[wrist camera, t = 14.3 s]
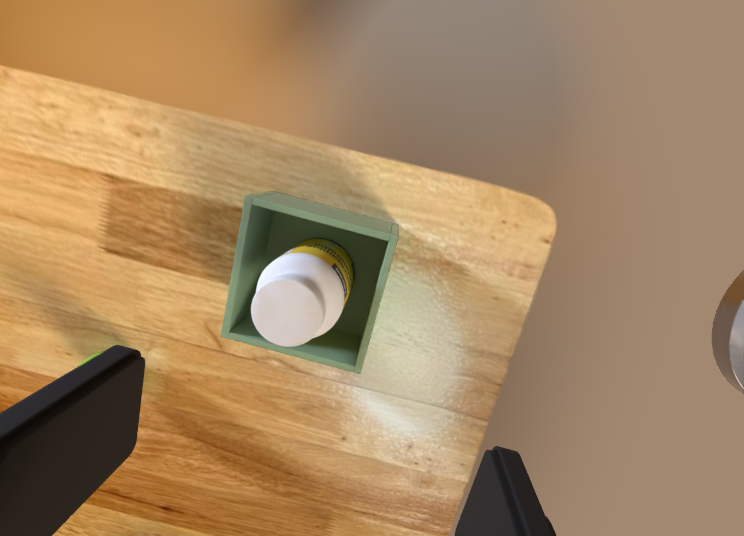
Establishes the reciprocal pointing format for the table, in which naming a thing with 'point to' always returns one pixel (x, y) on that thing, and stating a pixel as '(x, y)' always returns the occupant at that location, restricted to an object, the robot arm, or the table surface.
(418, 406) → the table surface
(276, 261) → the pill bottle
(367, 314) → the tub
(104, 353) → the robot arm
